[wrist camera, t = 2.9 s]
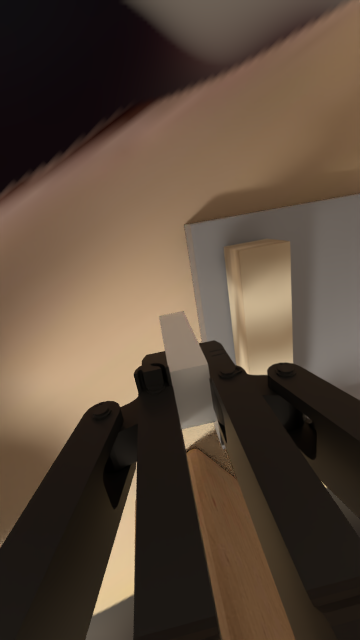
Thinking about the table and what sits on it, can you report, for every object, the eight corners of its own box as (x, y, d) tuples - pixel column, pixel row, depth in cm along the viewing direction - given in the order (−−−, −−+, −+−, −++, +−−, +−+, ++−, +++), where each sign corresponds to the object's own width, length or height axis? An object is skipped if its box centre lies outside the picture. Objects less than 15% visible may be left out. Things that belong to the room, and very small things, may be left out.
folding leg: (276, 411, 27) (295, 437, 24) (242, 419, 27) (256, 446, 24) (266, 238, 21) (290, 241, 18) (223, 246, 21) (239, 250, 18)
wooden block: (194, 441, 31) (278, 768, 12) (246, 482, 34) (374, 790, 16) (132, 493, 32) (122, 862, 14) (188, 528, 36) (242, 865, 17)
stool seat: (215, 428, 31) (231, 474, 25) (184, 224, 23) (198, 224, 18) (355, 395, 32) (401, 431, 27) (369, 191, 25) (437, 181, 19)
